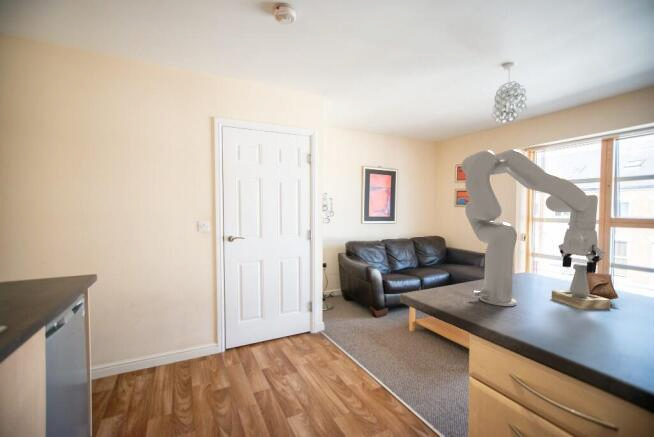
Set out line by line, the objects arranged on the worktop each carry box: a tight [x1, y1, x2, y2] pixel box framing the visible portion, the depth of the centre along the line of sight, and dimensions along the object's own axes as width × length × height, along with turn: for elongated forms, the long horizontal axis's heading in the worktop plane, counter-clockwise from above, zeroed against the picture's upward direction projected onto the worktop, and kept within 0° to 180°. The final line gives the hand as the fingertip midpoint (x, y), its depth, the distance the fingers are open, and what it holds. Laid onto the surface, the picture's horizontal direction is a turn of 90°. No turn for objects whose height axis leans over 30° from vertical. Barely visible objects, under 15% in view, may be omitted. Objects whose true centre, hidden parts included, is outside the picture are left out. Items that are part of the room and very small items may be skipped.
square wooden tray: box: [551, 289, 611, 310], centre depth 109 cm, size 12×12×3 cm
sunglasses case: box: [586, 272, 619, 301], centre depth 115 cm, size 18×7×7 cm
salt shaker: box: [569, 263, 590, 298], centre depth 109 cm, size 6×6×13 cm
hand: (578, 269), depth 109 cm, fingers open, 9 cm apart
